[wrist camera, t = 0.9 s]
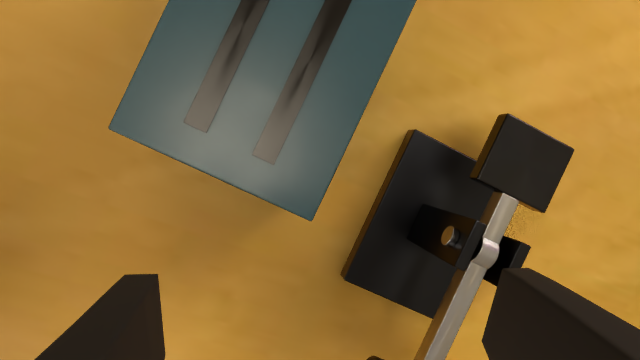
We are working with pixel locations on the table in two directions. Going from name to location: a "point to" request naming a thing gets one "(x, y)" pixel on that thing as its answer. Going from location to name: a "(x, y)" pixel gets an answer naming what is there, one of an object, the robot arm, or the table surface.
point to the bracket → (425, 228)
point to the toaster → (261, 89)
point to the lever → (497, 214)
